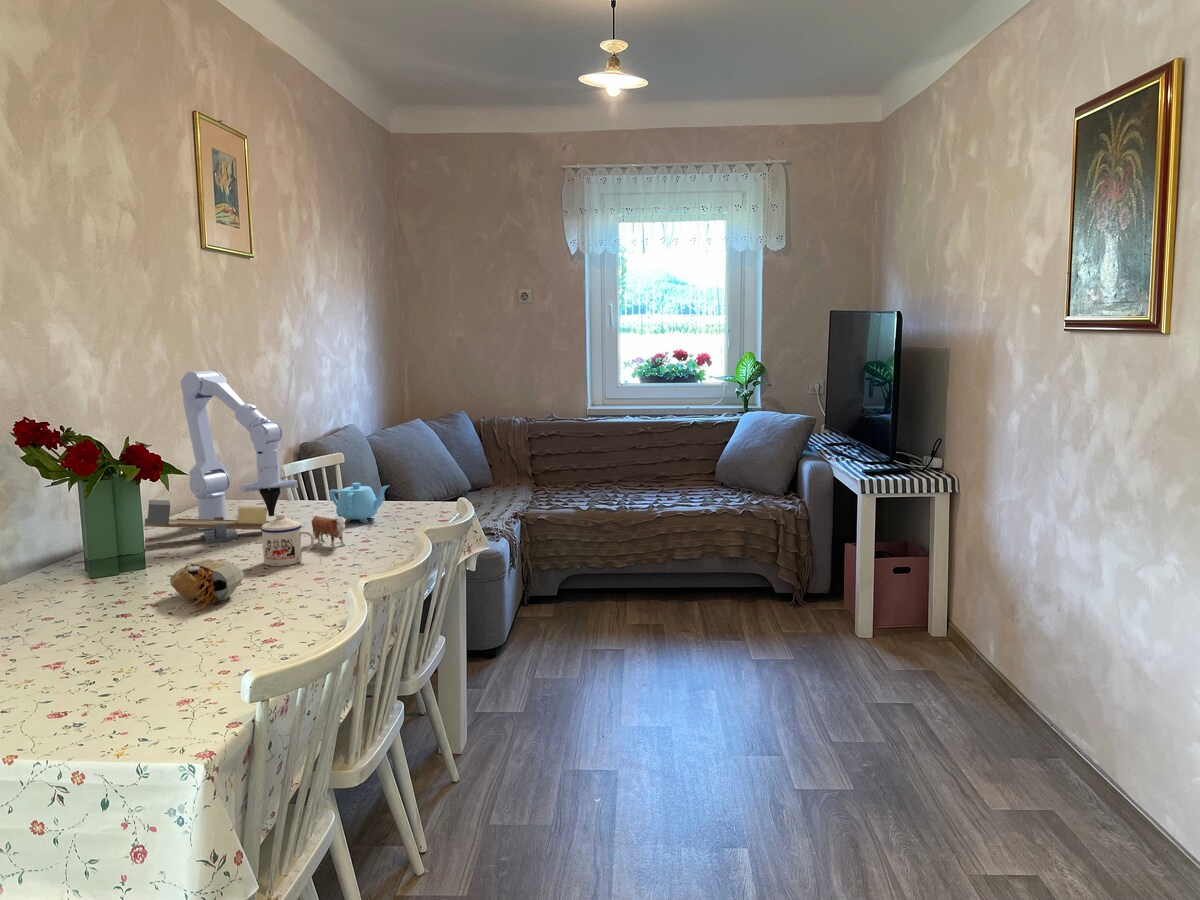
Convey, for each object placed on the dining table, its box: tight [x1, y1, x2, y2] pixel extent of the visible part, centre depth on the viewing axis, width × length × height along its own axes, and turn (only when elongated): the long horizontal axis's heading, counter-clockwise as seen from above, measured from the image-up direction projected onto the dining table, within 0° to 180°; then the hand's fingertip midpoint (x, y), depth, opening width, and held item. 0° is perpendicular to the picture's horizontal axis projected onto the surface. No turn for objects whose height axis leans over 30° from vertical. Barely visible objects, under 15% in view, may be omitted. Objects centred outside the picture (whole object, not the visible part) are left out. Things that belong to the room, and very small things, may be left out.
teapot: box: [328, 482, 390, 524], centre depth 263 cm, size 13×14×11 cm
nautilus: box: [169, 558, 245, 614], centre depth 184 cm, size 8×22×15 cm
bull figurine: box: [311, 515, 351, 548], centre depth 232 cm, size 4×13×8 cm, turn 53°
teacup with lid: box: [260, 513, 316, 567], centre depth 215 cm, size 12×9×12 cm
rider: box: [236, 505, 268, 525], centre depth 245 cm, size 4×7×4 cm, turn 116°
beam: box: [144, 499, 271, 531], centre depth 242 cm, size 8×36×6 cm, turn 116°
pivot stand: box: [202, 517, 239, 544], centre depth 242 cm, size 12×8×5 cm, turn 26°
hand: (271, 515), depth 248 cm, fingers closed
